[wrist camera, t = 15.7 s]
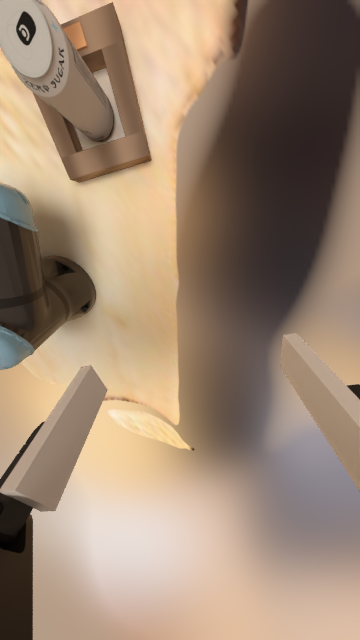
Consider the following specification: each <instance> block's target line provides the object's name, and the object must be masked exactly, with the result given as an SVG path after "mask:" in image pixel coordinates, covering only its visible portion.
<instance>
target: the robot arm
mask: <svg viewBox="0 0 360 640" xmlns="http://www.w3.org/2000/svg"><path fill="white" fill-rule="evenodd" d="M37 232H38V229H37V228H36V226H35V222H34V217H33V212H32V208H31V204H30V202H29V200H28V199H27V198H26V196H25V195H24V194H23V193H22V192H20V191H19V190H17V189H16V188H13V187H11V186H9V185H6V184H3V183H0V370H3V369H8V368H11V367H13V366H16V365H17V364H19V363H20V362H21V361H22V360H24V359H25V358H26V357H28V356H29V355H32V354H33V353H34V351H35V350H36V349H37V348H38V347H39V346H40V345H41V344H42V343H43V342H44V341H46V340H47V339H48V338H49V337H50V336H51V335H52V334H53V333H54V332H55V331H56V330H57V329H58V328H59V327H60V326H62V325H63V324H64V323H65V322H67V321H70V320H73V319H76V318H79V317H81V316H83V315H84V314H86V313H87V312H88V311H89V310H90V309H91V308H92V306H93V305H94V303H95V299H96V292H95V287H94V284H93V282H92V280H91V279H90V277H89V276H88V274H87V273H86V272H85V271H84V270H83V269H82V268H81V267H80V266H78V265H77V264H76V263H74V262H72V261H70V260H68V259H66V258H62V257H58V256H48V257H44V258H41V255H40V249H39V242H38V235H37ZM280 367H281V368H282V370H283V372H284V373H285V374H286V376H287V378H288V379H289V381H290V383H291V384H292V386H293V387H294V389H295V390H296V392H297V394H298V395H299V397H300V398H301V400H302V401H303V403H304V405H305V406H306V408H307V409H308V411H309V412H310V414H311V416H312V417H313V419H314V420H315V422H316V423H317V425H318V427H319V428H320V430H321V431H322V433H323V434H324V436H325V437H326V439H327V441H328V442H329V444H330V445H331V447H332V448H333V450H334V452H335V453H336V455H337V456H338V458H339V459H340V461H341V463H342V464H343V466H344V467H345V469H346V470H347V472H348V473H349V475H350V477H351V478H352V480H353V482H354V483H355V485H356V486H357V488H358V489H359V491H360V385H359V384H358V385H348V386H346V385H345V384H344V383H343V382H342V381H341V380H340V379H339V377H338V376H337V375H336V374H335V373H334V372H333V371H332V370H331V369H330V368H329V367H328V366H327V365H326V364H325V363H324V362H323V361H322V360H321V359H320V358H319V356H318V355H317V354H316V353H315V352H314V351H313V350H312V349H311V348H310V347H309V346H308V345H307V344H306V343H305V342H304V341H303V340H302V339H301V338H300V336H299V335H298V334H297V333H294V334H288V335H283V344H282V353H281V363H280ZM106 392H107V388H106V387H105V385H104V384H103V382H102V381H101V379H100V378H99V376H98V375H97V373H96V372H95V370H94V369H93V367H92V366H85V367H81V369H80V370H79V372H78V373H77V375H76V376H75V378H74V379H73V381H72V382H71V384H70V385H69V387H68V388H67V390H66V391H65V393H64V394H63V396H62V397H61V399H60V400H59V402H58V403H57V405H56V406H55V408H54V409H53V411H52V412H51V414H50V415H49V417H48V418H47V420H46V421H45V422H42V423H41V424H40V426H38V427H37V428H36V429H35V430H34V431H33V433H32V434H31V436H30V437H29V438H28V440H27V442H26V444H25V445H24V446H23V447H22V449H21V450H20V451H19V452H20V453H19V454H17V456H16V457H15V459H14V460H13V462H12V463H11V464H10V466H9V467H8V469H7V470H6V472H5V473H4V475H3V476H2V478H1V479H0V640H33V639H32V638H33V635H32V634H33V633H32V632H33V631H32V630H33V627H32V625H33V622H32V621H33V609H32V608H33V606H32V605H33V589H32V588H33V519H32V515H30V513H31V511H32V509H33V508H35V509H37V510H39V511H55V510H56V508H57V506H58V503H59V501H60V499H61V496H62V494H63V492H64V489H65V487H66V485H67V482H68V480H69V478H70V475H71V473H72V471H73V469H74V466H75V464H76V462H77V459H78V457H79V455H80V452H81V450H82V448H83V446H84V443H85V441H86V439H87V436H88V434H89V432H90V429H91V427H92V425H93V422H94V420H95V418H96V415H97V413H98V411H99V408H100V406H101V404H102V402H103V399H104V397H105V395H106Z"/></svg>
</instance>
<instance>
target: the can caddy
mask: <svg viewBox="0 0 360 640" xmlns="http://www.w3.org/2000/svg"><path fill="white" fill-rule="evenodd" d="M61 27H62V28H63V30H64V31H65V33H66V34H67V36H68V37H69V39H70V41H71V42H72V44H73V45H74V47H75V48H76V50H77V51H78V53H79V54H80V56H81V57H82V59H83V61H84V62H85V64H86V65H87V67H88V68H89V70H90V71H91V73H92V72H94V71H97V70H99V69H102V68H105V67H107V70H108V74H109V78H110V81H111V85H112V89H113V92H114V96H115V100H116V103H117V107H118V111H119V114H120V118H121V122H122V125H123V129H124V133H125V136H126V137H123V138H120V139H117V140H114V141H111V142H108V143H105V144H102V145H99V146H96V147H93V148H90V149H87V150H84V151H83V150H82V148H81V145H80V142H79V140H78V137H77V134H76V132H75V129H74V126H73V124H72V123H70V122H69V121H68V120H67V119H65V118H64V117H63V116H62V115H60V114H59V113H58V112H57V111H56V110H54V109H53V108H52V107H51V106H49V105H48V104H47V103H46V102H44V101H43V100H42V99H41V98H40V97H38V96H37V95H36V94H35V93H33V94H34V96H35V99H36V101H37V103H38V106H39V108H40V110H41V113H42V115H43V117H44V120H45V122H46V124H47V127H48V129H49V131H50V134H51V136H52V138H53V141H54V143H55V145H56V148H57V150H58V152H59V155H60V157H61V159H62V162H63V164H64V166H65V169H66V171H67V173H68V176H69V178H70V180H73V181H77V182H82V181H85V180H88V179H92V178H95V177H98V176H101V175H105V174H108V173H111V172H114V171H118V170H121V169H124V168H127V167H131V166H134V165H137V164H141V163H144V162H147V161H150V160H151V156H150V152H149V147H148V143H147V139H146V134H145V130H144V126H143V121H142V117H141V113H140V108H139V104H138V100H137V95H136V91H135V87H134V82H133V78H132V74H131V69H130V65H129V61H128V56H127V52H126V47H125V43H124V39H123V34H122V30H121V26H120V23H119V20H118V17H117V14H116V11H115V8H114V5H113V2H112V3H110V4H107V5H105V6H103V7H100V8H98V9H96V10H94V11H91V12H89V13H87V14H84V15H82V16H80V17H78V18H75V19H73V20H71V21H68V22H66V23H64V24H62V25H61Z"/></svg>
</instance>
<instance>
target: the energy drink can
mask: <svg viewBox="0 0 360 640" xmlns="http://www.w3.org/2000/svg"><path fill="white" fill-rule="evenodd" d="M0 48H1V49H2V51H3V53H4V55H5V56H6V58H7V59H8V61H9V62H10V64H11V65H12V67H13V69H14V71H15V73H16V74H17V76H18V77H19V78H20V80H21V81H22V82H23V83H24V84H25V86H26V87H27V88H29V89H30V90H31V91H32V92H33V93H35V94H36V95H37V96H38V97H40V98H41V99H42V100H43V101H44V102H46V103H47V104H48V105H49V106H51V107H52V108H53V109H54V110H56V111H57V112H58V113H59V114H60V115H62V116H63V117H64V118H65V119H67V120H68V121H69V122H70V123H72V124H73V125H74V126H75V127H77V128H78V129H79V130H80V131H81V132H83V133H84V134H85V135H86V136H88V137H89V138H91V139H92V140H96V141H100V140H104V139H105V138H107V137H108V136H109V134H110V132H111V130H112V127H113V111H112V107H111V104H110V102H109V99H108V98H107V96H106V94H105V93H104V91H103V90H102V88H101V87H100V85H99V84H98V82H97V80H96V79H95V77H94V76H93V74H92V73H91V71H90V70H89V68H88V67H87V65H86V64H85V62H84V61H83V59H82V57H81V56H80V54H79V53H78V51H77V50H76V48H75V47H74V45H73V44H72V42H71V41H70V39H69V37H68V36H67V34H66V33H65V31H64V30H63V28H62V27H61V25H60V24H59V22H58V21H57V19H56V17H55V16H54V14H53V13H52V12H51V11H50V9H49V8H48V7H47V6H46V5H45V4H44V3H43V2H42V1H41V0H0Z"/></svg>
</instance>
